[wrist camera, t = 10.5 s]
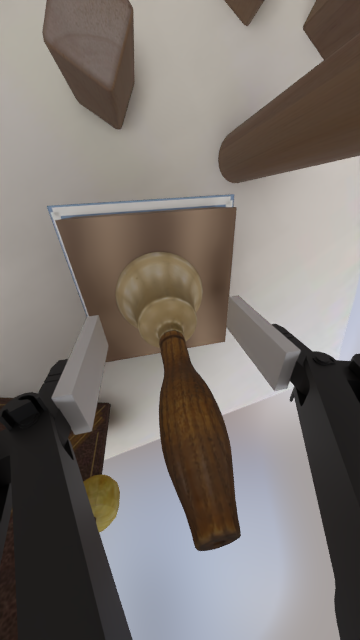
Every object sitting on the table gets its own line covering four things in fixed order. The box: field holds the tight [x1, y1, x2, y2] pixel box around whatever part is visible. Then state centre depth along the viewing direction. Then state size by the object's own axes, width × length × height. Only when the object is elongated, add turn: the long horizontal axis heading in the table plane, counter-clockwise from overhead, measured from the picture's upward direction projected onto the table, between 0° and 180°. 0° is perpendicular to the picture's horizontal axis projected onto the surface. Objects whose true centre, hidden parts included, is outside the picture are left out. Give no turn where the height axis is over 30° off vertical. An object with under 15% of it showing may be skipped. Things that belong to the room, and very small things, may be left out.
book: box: [0, 398, 120, 640], centre depth 20 cm, size 22×8×25 cm, turn 70°
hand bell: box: [115, 252, 241, 551], centre depth 12 cm, size 8×8×16 cm
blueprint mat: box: [47, 194, 234, 317], centre depth 23 cm, size 18×16×1 cm
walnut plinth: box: [55, 207, 236, 362], centre depth 21 cm, size 14×14×5 cm
